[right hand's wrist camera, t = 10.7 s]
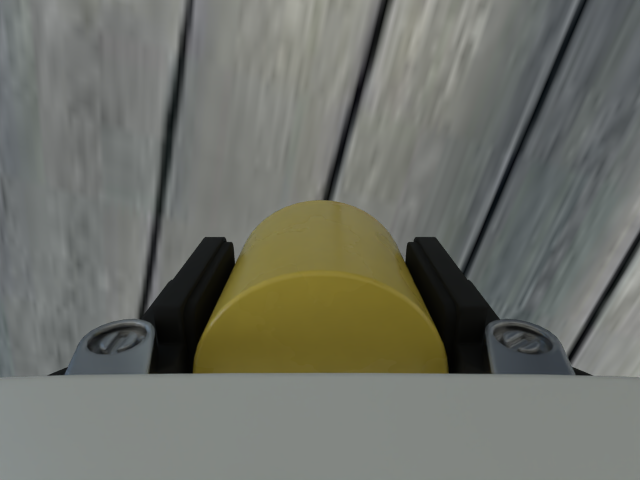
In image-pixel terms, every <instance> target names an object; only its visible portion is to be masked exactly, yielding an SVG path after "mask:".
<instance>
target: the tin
mask: <svg viewBox="0 0 640 480" xmlns="http://www.w3.org/2000/svg"><path fill="white" fill-rule="evenodd" d="M201 373H428V374H449V369H448V360H447V355H446V351H445V348H444V344H443V342H442V339H441V337H440V335H439V333H438V331H437V329H436V327H435V325H434V322H433V320H432V318H431V316H430V314H429V312H428V310H427V308H426V306H425V304H424V301H423V299H422V297H421V295H420V293H419V291H418V289H417V287H416V285H415V283H414V280H413V278H412V276H411V274H410V272H409V270H408V268H407V266H406V264H405V262H404V259H403V257H402V255H401V253H400V251H399V249H398V247H397V245H396V243H395V241H394V239H393V238H392V236H391V235H390V233H389V232H388V231H387V230H386V229H385V227H384V226H383V225H382V224H381V223H380V222H378V221H377V220H376V219H375V218H374V217H372V216H371V215H369V214H368V213H366V212H364V211H362V210H360V209H358V208H356V207H354V206H351V205H348V204H345V203H340V202H335V201H325V200H316V201H306V202H301V203H296V204H293V205H290V206H287V207H285V208H283V209H281V210H279V211H277V212H275V213H273V214H272V215H270V216H269V217H267V218H266V219H265V220H264V221H263V222H261V223H260V224H259V225H258V226H257V227H256V228H255V230H254V231H253V232H252V233H251V235H250V236H249V238H248V239H247V241H246V242H245V245H244V247H243V249H242V251H241V253H240V255H239V257H238V259H237V262H236V264H235V266H234V268H233V270H232V272H231V274H230V276H229V278H228V281H227V283H226V285H225V287H224V289H223V291H222V293H221V295H220V298H219V300H218V302H217V304H216V306H215V308H214V310H213V312H212V315H211V317H210V319H209V321H208V323H207V325H206V327H205V329H204V332H203V334H202V336H201V338H200V340H199V343H198V345H197V349H196V353H195V356H194V364H193V374H201Z"/></svg>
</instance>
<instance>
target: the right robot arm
mask: <svg viewBox="0 0 640 480" xmlns="http://www.w3.org/2000/svg"><path fill="white" fill-rule="evenodd" d="M405 264H406V266H407V268H408V270H409V272H410V274H411V276H412V278H413V280H414V283H415V285H416V287H417V289H418V291H419V293H420V295H421V297H422V299H423V301H424V304H425V306H426V308H427V310H428V312H429V314H430V316H431V318H432V320H433V322H434V325H435V327H436V329H437V331H438V333H439V335H440V337H441V339H442V342H443V344H444V348H445V351H446V355H447V360H448V369H449V374H428V373H201V374H193V364H194V356H195V353H196V349H197V345H198V343H199V340H200V338H201V336H202V334H203V332H204V329H205V327H206V325H207V323H208V321H209V319H210V317H211V315H212V312H213V310H214V308H215V306H216V304H217V302H218V300H219V298H220V295H221V293H222V291H223V289H224V287H225V285H226V283H227V281H228V278H229V276H230V274H231V272H232V270H233V268H234V266H235V258H234V247H233V243H232V242H227V241H226V238H225V237H205V238H204V239H203V240H202V242H201V243H200V244H199V246H198V247H197V248H196V250H195V251H194V252H193V254H192V255H191V256H190V258H189V259H188V260H187V262H186V263H185V264H184V266H183V267H182V268H181V270H180V271H179V272H178V274H177V275H176V276H175V278H174V279H173V280H171V281H170V282H168V284H167V285H166V286H165V288H164V289H163V290H162V292H161V293H160V294H159V296H158V297H157V298H156V300H155V301H154V302H153V303H152V305H151V306H150V307H149V309H148V310H147V311H146V313H145V314H144V315H143V317H142V318H141V319H140V320H139V319H124V320H119V321H114V322H110V323H107V324H105V325H102V326H100V327H98V328H96V329H94V330H92V331H90V332H89V333H88V334H87V335H85V336H84V337H83V338H82V340H81V341H80V342H79V344H78V346H77V349H76V351H75V353H74V355H73V357H72V359H71V362H70V364H69V366H68V367H67V368H64V369H62V370H59V371H57V372H55V373H52V374H50V375H47V376H25V377H2V378H0V480H640V378H637V377H618V376H593V375H590V374H588V373H586V372H583V371H581V370H578V369H576V368H573V367H572V366H571V364H570V362H569V359H568V357H567V355H566V353H565V351H564V349H563V346H562V344H561V342H560V341H559V340H558V338H557V337H556V336H555V335H553V334H552V333H551V332H550V331H548V330H546V329H544V328H542V327H540V326H538V325H535V324H533V323H530V322H526V321H521V320H516V319H501V320H500V319H499V318H498V316H497V315H496V314H495V312H494V311H493V310H492V308H491V307H490V306H489V304H488V303H487V302H486V301H485V299H484V298H483V297H482V295H481V294H480V293H479V291H478V290H477V289H476V287H475V286H474V285H473V283H472V282H471V281H470V280H467V279H466V277H465V276H464V275H463V273H462V272H461V271H460V269H459V268H458V267H457V265H456V264H455V263H454V261H453V260H452V259H451V257H450V256H449V255H448V253H447V252H446V251H445V249H444V248H443V247H442V245H441V244H440V243H439V241H438V240H437V239H436V238H435V237H415V239H414V242H408V244H407V249H406V261H405Z"/></svg>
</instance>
